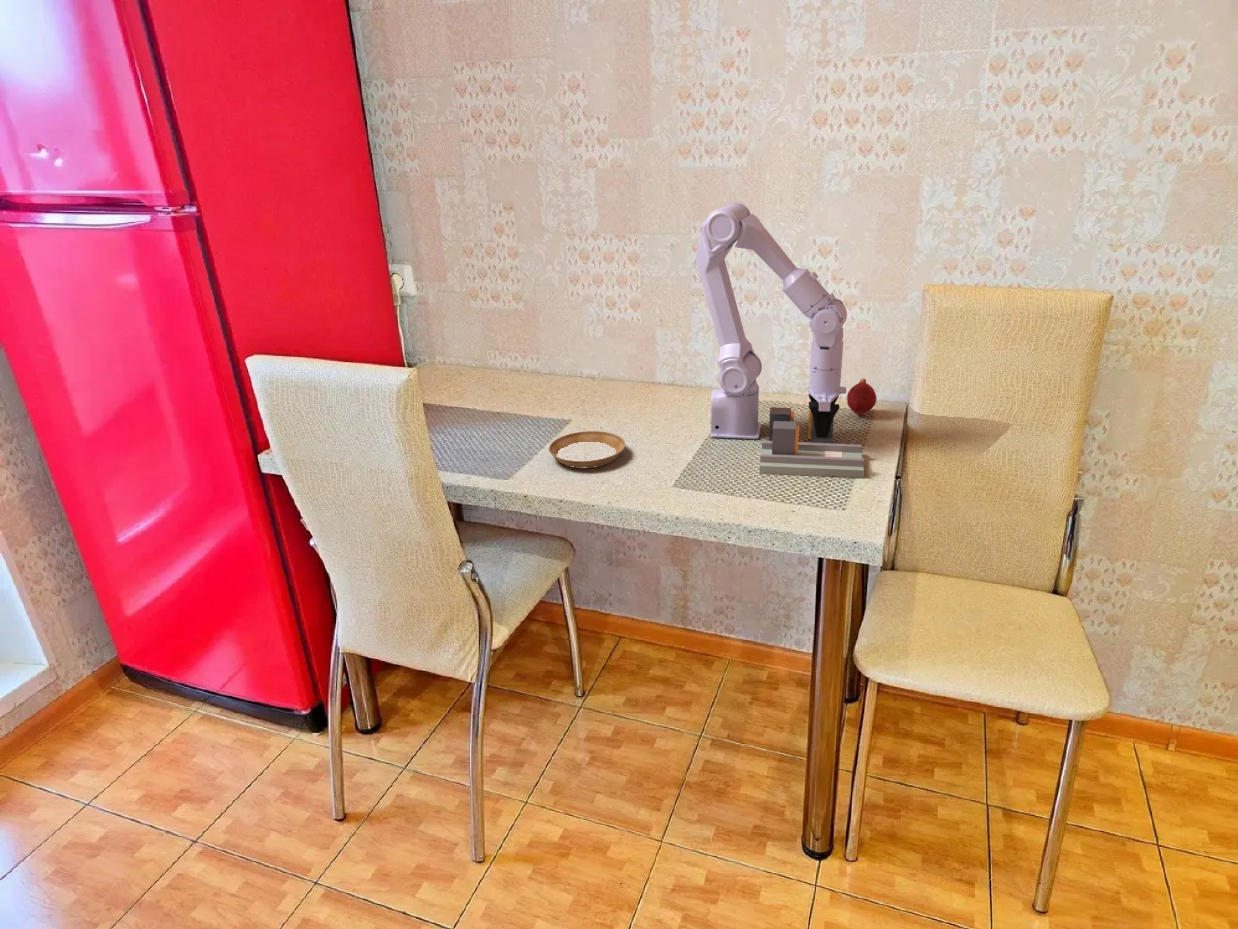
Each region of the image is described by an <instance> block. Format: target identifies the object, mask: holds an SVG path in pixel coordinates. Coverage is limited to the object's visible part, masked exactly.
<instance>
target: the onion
mask: <svg viewBox="0 0 1238 929" xmlns="http://www.w3.org/2000/svg"><path fill="white" fill-rule="evenodd" d="M846 401H847V403H846V404H847V406H848V408H849V410H851V411H852V412H853V413H854V414H856V415H857V416H859V417H860V416H864V415H866V414H867V413H869V412H871V410H872V409H874V406H876V403H877V394H876V392H875V389H874V388H873V387H872V386H871V384H869V383H867V379H866V378H864V377H863V378H861V379H860V381H859V382H858V383H856V384H855V385H853V386H852V387H851V388H850V389H849V391H848V392H847V395H846Z"/></svg>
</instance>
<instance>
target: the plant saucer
mask: <svg viewBox="0 0 1238 929" xmlns="http://www.w3.org/2000/svg"><path fill="white" fill-rule="evenodd" d="M578 442H600V443H605V444H607V445H609V446H610V447H612V448H615V450H616V454H614V455H612V456H609V457H606V458H603V459H598V460H591V461H572V460H565V459H561V458H559V457H557V455H556V454H558V451H559V450H560V449H561V448H564V447H567V446H568V445H570V444H573V443H578ZM625 447H626V442H625V440H624V438H623V437H621V436H620V435H617V434H616V433H612V432H608V431H601V430H600V431H599V430H587V431H586V430H585V431H577V432H572V433H568V434H565V435H563V436H560V437H558V438H556V439H554V440H553V441H552V442H551V443H550V444H549V445H548V452H549V453H550V454H551V456H553V458H555V459H556V460H557V461H558V462H559V463H561V464H562V463H563V465H564V464H565V465H564V466H566V465H568V466H567V467H569V466H574V467H594V466H600V467H602V466H601V465H603V466H605V465H604V464H606V465H608V464H610V463H612V462H613V461H614V460H616V458H618V457H619V456H620V455H621V453H622V451H623V450H624V449H625ZM611 461H612V462H611ZM609 462H610V463H609ZM607 463H608V464H607Z"/></svg>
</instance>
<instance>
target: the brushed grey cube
mask: <svg viewBox="0 0 1238 929" xmlns="http://www.w3.org/2000/svg"><path fill="white" fill-rule="evenodd" d="M834 419H835V417H834V418H833V421H832V424H831V428H830V432H829V435H828V437H827V438H817V437H816V433H815V426H814V419H813V416H812V413H811V411H809V412H808V421H807V422H808V423H807V424H808V426H807V439H810V443H829V444H833V438H834V437H833V436H834V435H833V434H834V422H835V421H834Z"/></svg>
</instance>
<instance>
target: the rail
mask: <svg viewBox="0 0 1238 929" xmlns="http://www.w3.org/2000/svg"><path fill="white" fill-rule="evenodd" d="M799 436H800V425H797V422H796V421H794V422H786V421H774V422H773V438H772V441H769V440H762V441H761V452H760V455H759V456H760V457H759V458H760V459H759V474H770V475H771V474H772V475H787V476H810V477H811V476H812V477H828V476H831V477H832V476H835V477H834V478H850V477H851V479H852V478H853V479H855V478H856V479H863V478H864V471H865V470H864V462H865V460H864V458H863V454H862V452H863V451H862V450H863V446H862V445H863V444H854V443H853V444H852V443H851V444H850V443H849V444H848V443H832V444H829V443H811V442H802V441H801V442H799ZM832 478H833V477H832Z"/></svg>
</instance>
